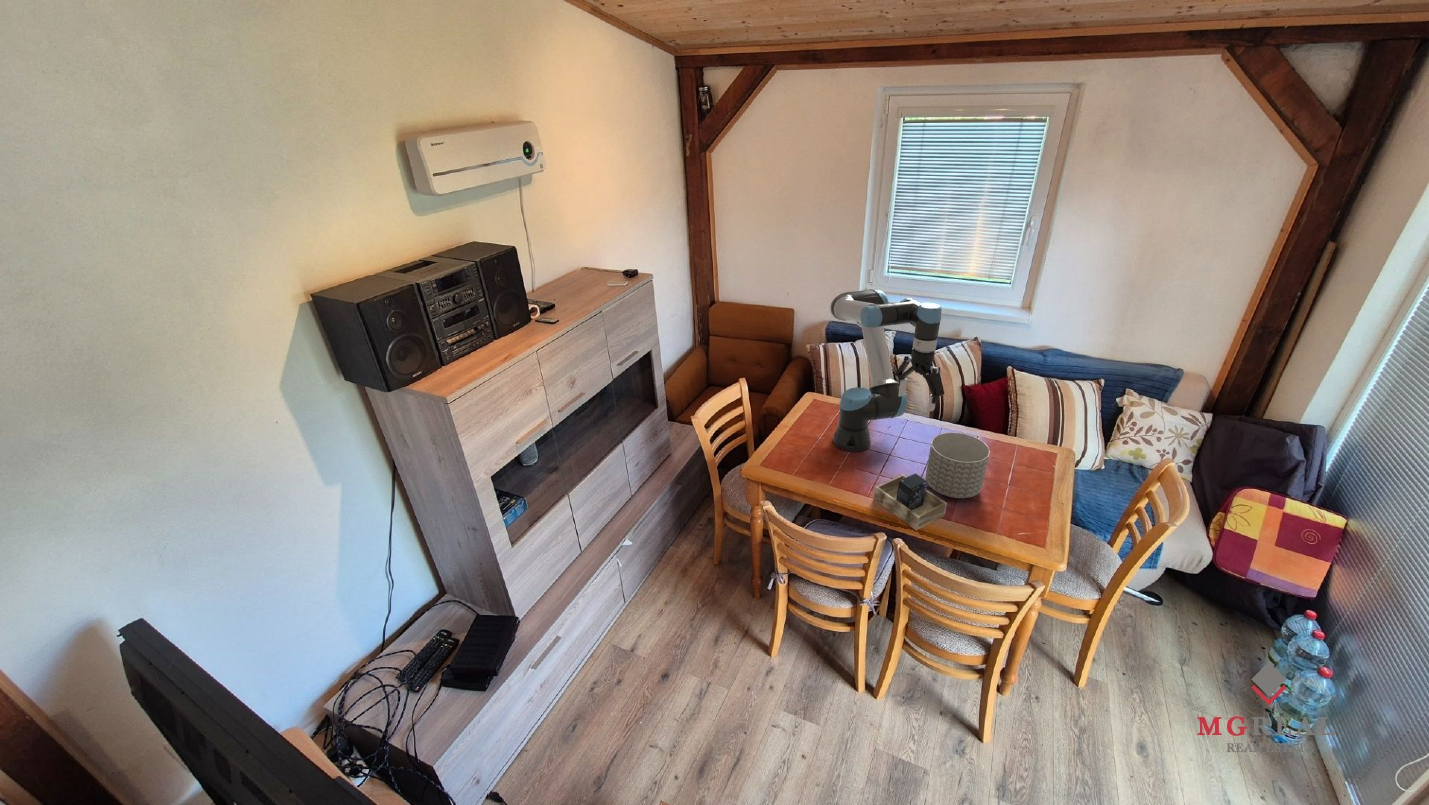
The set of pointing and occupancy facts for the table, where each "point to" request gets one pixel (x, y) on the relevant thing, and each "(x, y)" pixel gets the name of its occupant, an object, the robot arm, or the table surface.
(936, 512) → the crate
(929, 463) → the planter
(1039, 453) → the table surface
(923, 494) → the box
